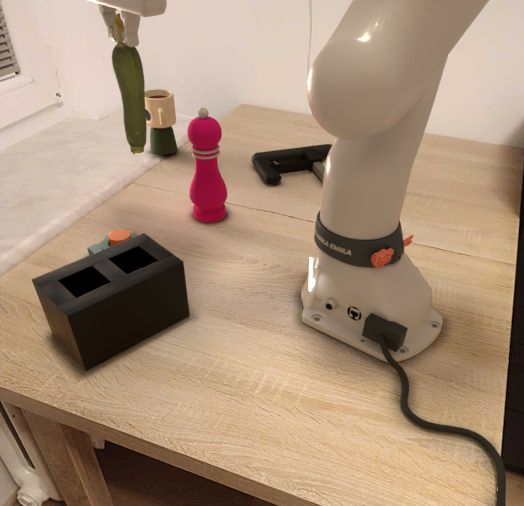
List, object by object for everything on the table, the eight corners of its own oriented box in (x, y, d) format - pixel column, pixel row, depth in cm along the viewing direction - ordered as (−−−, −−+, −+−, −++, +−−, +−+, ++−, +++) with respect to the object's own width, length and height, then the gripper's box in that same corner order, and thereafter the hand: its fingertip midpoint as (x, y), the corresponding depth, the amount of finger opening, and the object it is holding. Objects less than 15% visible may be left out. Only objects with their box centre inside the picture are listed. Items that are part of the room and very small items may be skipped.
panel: (160, 265, 86) (157, 245, 83) (120, 284, 82) (115, 264, 79) (129, 241, 91) (125, 222, 88) (89, 258, 87) (84, 238, 84)
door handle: (359, 172, 107) (329, 138, 117) (271, 184, 103) (248, 148, 113) (357, 186, 110) (328, 152, 120) (270, 199, 105) (248, 162, 115)
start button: (136, 244, 84) (134, 235, 83) (117, 252, 82) (115, 243, 81) (124, 235, 86) (123, 226, 84) (106, 243, 84) (104, 234, 83)
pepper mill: (222, 226, 95) (218, 117, 81) (186, 221, 96) (175, 113, 82) (232, 207, 100) (229, 102, 86) (197, 203, 101) (188, 98, 87)
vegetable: (132, 146, 86) (107, 8, 72) (157, 147, 86) (137, 8, 72) (126, 157, 83) (99, 14, 69) (151, 158, 83) (130, 14, 69)
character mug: (146, 144, 122) (138, 86, 113) (176, 141, 123) (170, 84, 114) (151, 163, 114) (143, 103, 105) (182, 160, 116) (176, 100, 107)
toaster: (189, 316, 76) (183, 261, 69) (86, 371, 68) (67, 316, 61) (153, 286, 82) (143, 232, 75) (52, 334, 73) (31, 279, 66)
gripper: (170, -78, 59) (183, 53, 69) (87, -87, 70) (108, 27, 80) (124, -75, 56) (144, 62, 66) (45, -85, 67) (72, 34, 77)
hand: (124, 43), depth 73 cm, fingers closed on vegetable, 3 cm apart
